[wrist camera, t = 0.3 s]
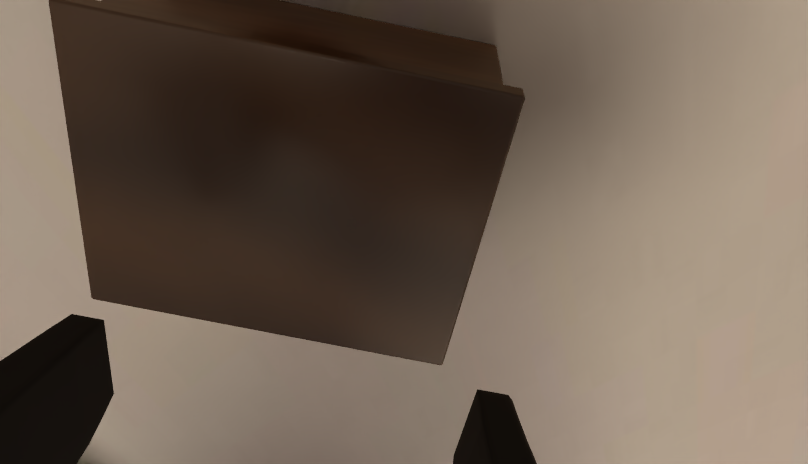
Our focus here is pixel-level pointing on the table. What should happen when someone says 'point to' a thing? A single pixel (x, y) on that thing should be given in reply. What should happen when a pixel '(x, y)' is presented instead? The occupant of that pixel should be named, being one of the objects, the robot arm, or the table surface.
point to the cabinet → (282, 165)
